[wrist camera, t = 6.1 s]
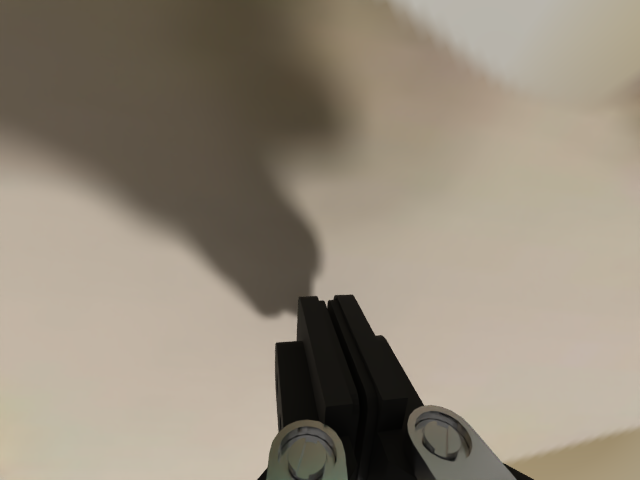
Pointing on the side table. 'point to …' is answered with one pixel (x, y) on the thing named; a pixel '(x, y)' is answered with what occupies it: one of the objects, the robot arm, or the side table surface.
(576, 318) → the side table surface
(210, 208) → the side table surface
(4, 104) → the side table surface
